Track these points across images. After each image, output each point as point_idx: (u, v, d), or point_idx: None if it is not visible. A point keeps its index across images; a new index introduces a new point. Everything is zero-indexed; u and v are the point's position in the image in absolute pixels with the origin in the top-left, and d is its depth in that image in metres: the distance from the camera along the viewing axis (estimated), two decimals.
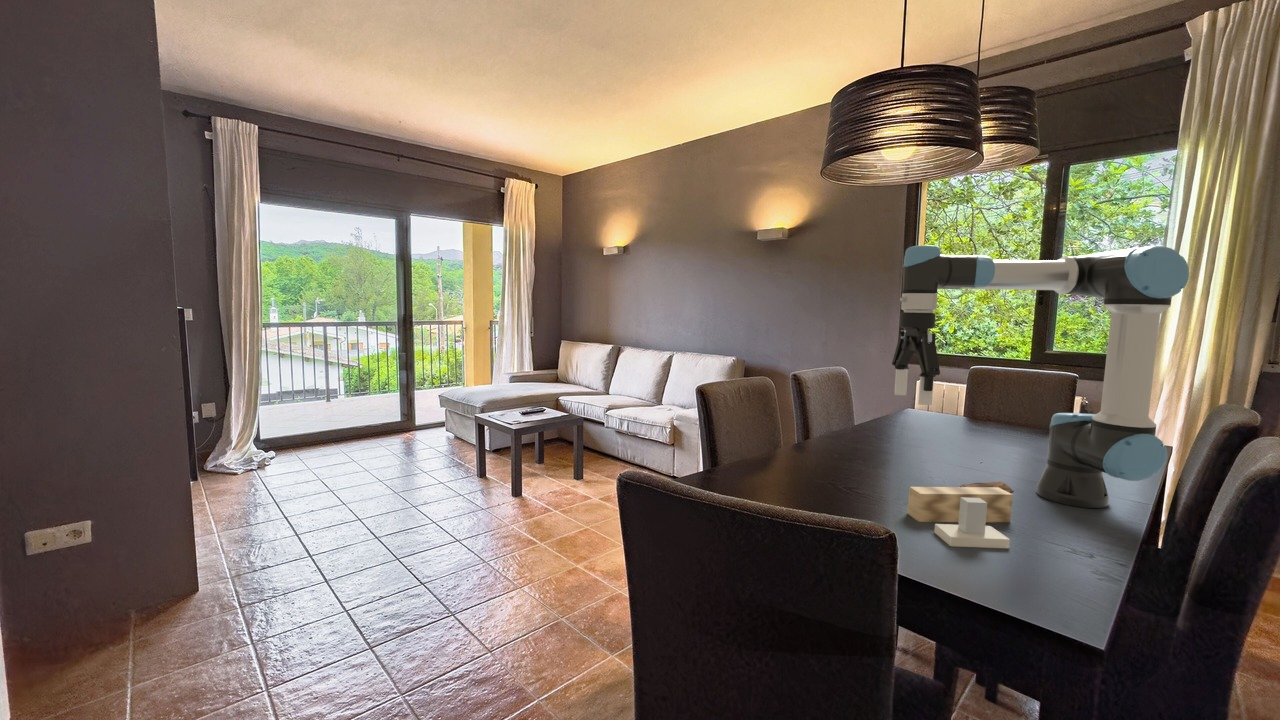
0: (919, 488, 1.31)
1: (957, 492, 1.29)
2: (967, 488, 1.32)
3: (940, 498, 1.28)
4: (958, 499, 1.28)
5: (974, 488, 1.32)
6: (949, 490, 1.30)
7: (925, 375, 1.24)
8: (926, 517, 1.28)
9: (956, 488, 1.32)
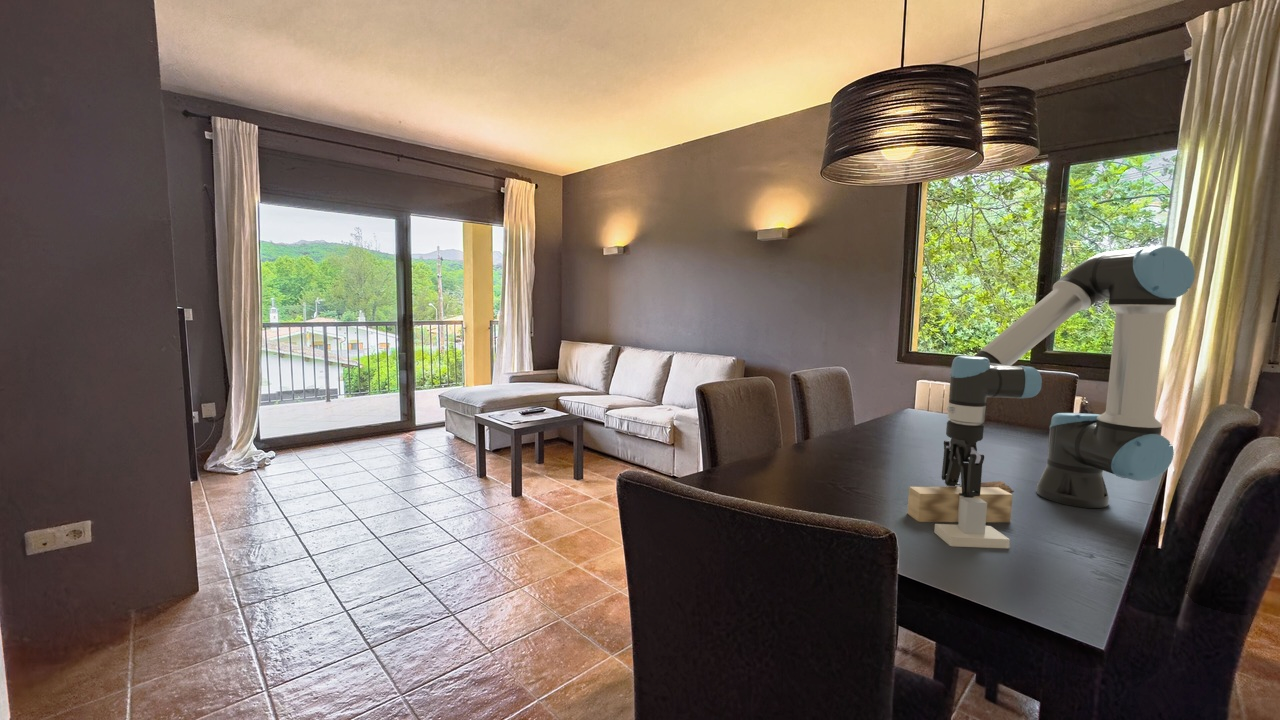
0: (919, 488, 1.31)
1: (957, 492, 1.29)
2: None
3: (940, 498, 1.28)
4: (958, 499, 1.28)
5: None
6: (949, 490, 1.30)
7: (964, 495, 1.26)
8: (926, 517, 1.28)
9: (956, 488, 1.32)
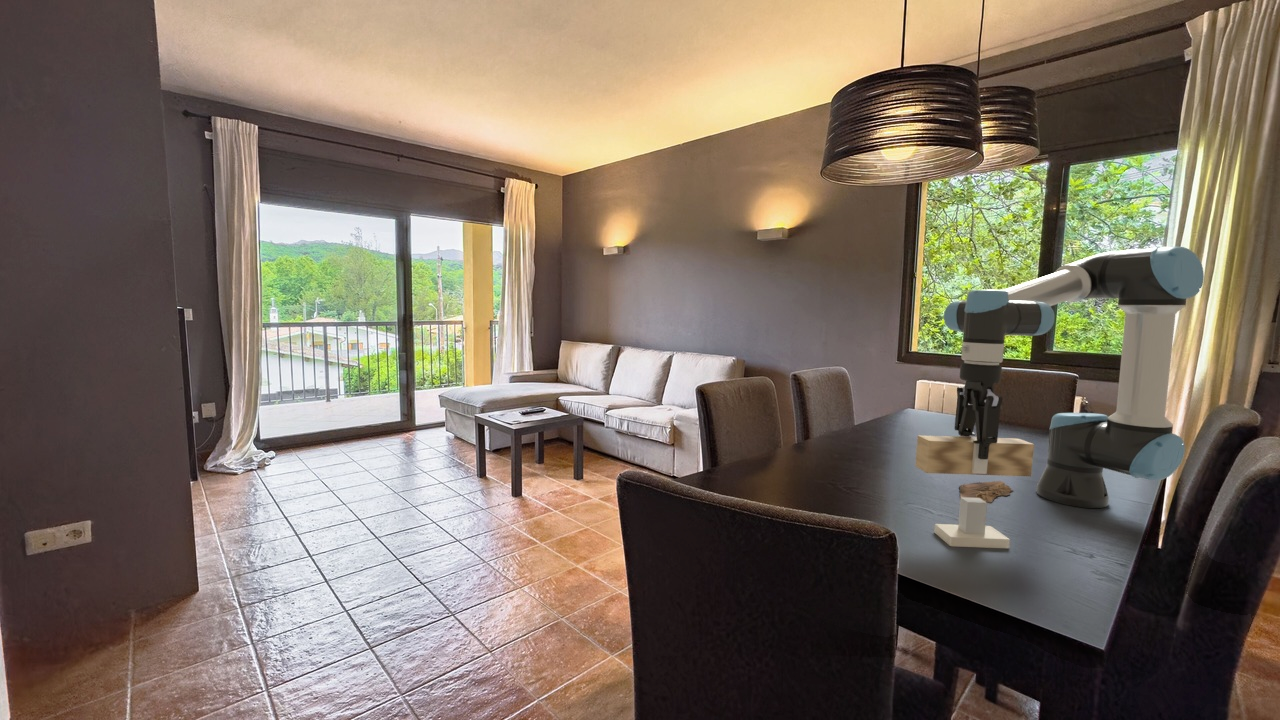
0: (928, 437, 1.19)
1: (971, 440, 1.17)
2: None
3: (951, 447, 1.16)
4: (972, 448, 1.16)
5: None
6: (963, 439, 1.18)
7: (980, 443, 1.14)
8: (935, 467, 1.16)
9: (970, 438, 1.19)
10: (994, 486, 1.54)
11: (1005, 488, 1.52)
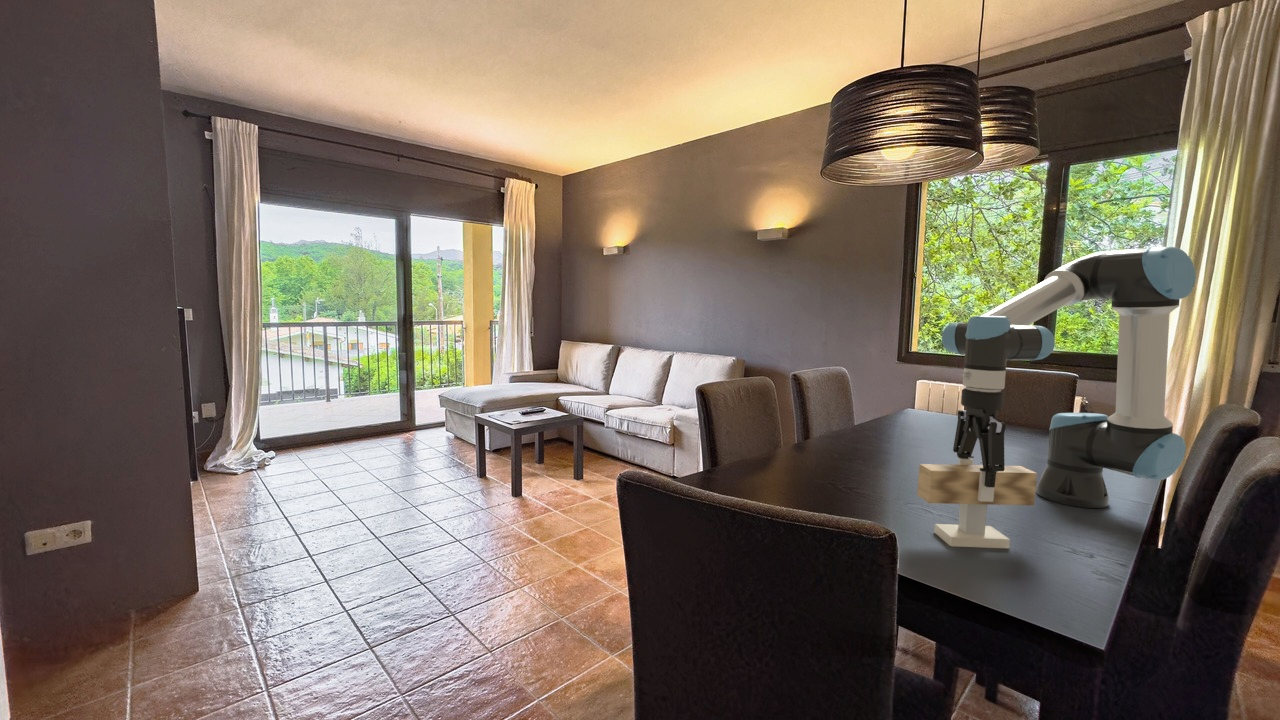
0: (930, 466, 1.18)
1: (974, 469, 1.16)
2: None
3: (954, 476, 1.14)
4: (974, 477, 1.14)
5: None
6: (965, 468, 1.17)
7: (986, 470, 1.11)
8: (938, 497, 1.15)
9: (972, 466, 1.18)
10: None
11: None
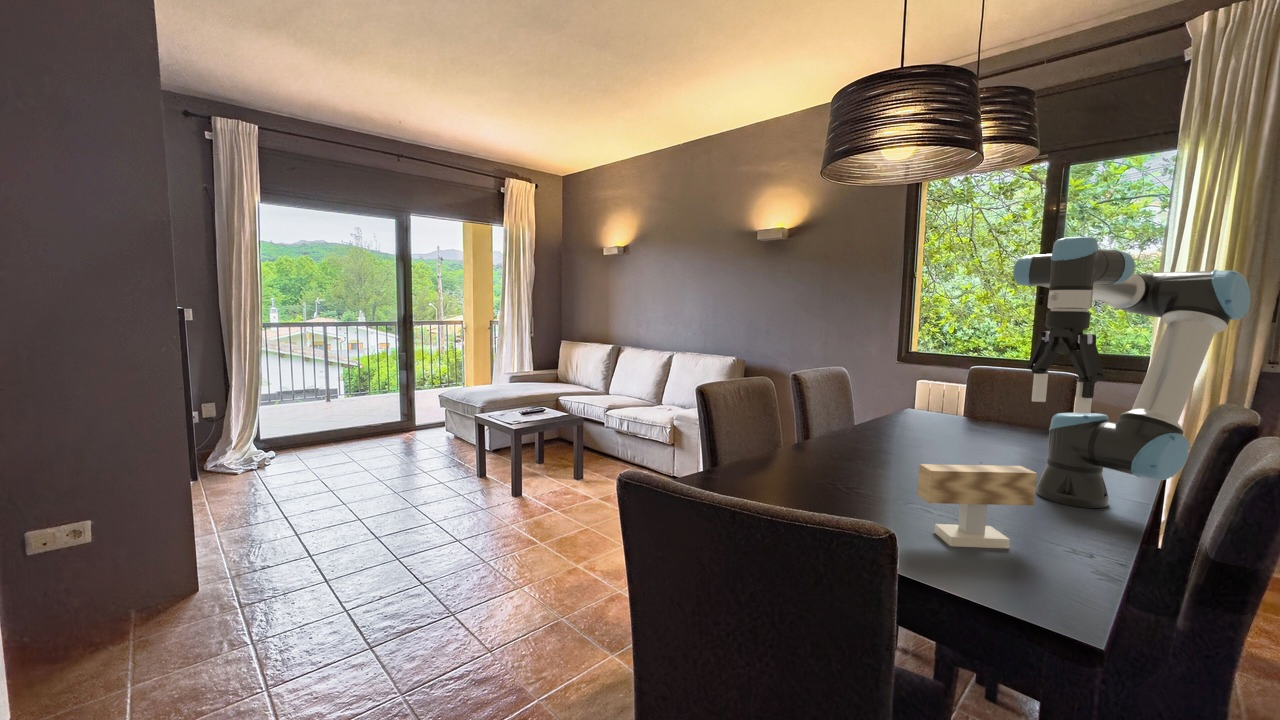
0: (930, 466, 1.18)
1: (974, 469, 1.16)
2: (985, 467, 1.18)
3: (954, 476, 1.14)
4: (974, 477, 1.14)
5: (993, 466, 1.18)
6: (965, 468, 1.17)
7: (1085, 380, 1.11)
8: (938, 498, 1.15)
9: (972, 466, 1.18)
10: None
11: None
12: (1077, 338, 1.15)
